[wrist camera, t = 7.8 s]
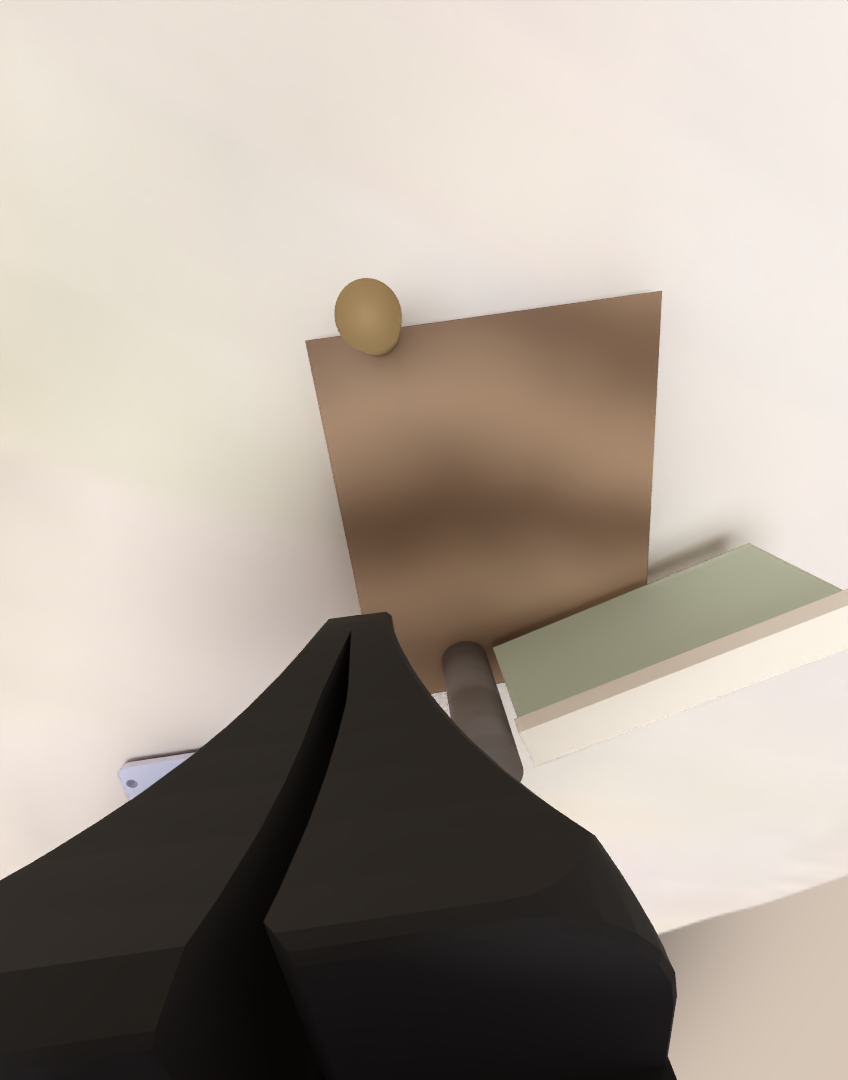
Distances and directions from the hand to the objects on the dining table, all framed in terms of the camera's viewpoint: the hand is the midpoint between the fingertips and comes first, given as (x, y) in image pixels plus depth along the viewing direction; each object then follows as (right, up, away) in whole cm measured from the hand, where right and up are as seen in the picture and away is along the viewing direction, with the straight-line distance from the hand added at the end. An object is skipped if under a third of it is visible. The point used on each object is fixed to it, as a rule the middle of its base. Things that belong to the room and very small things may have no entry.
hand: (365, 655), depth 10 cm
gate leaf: (+9, 0, +9) cm, 13 cm away
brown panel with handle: (+4, +4, +9) cm, 10 cm away
